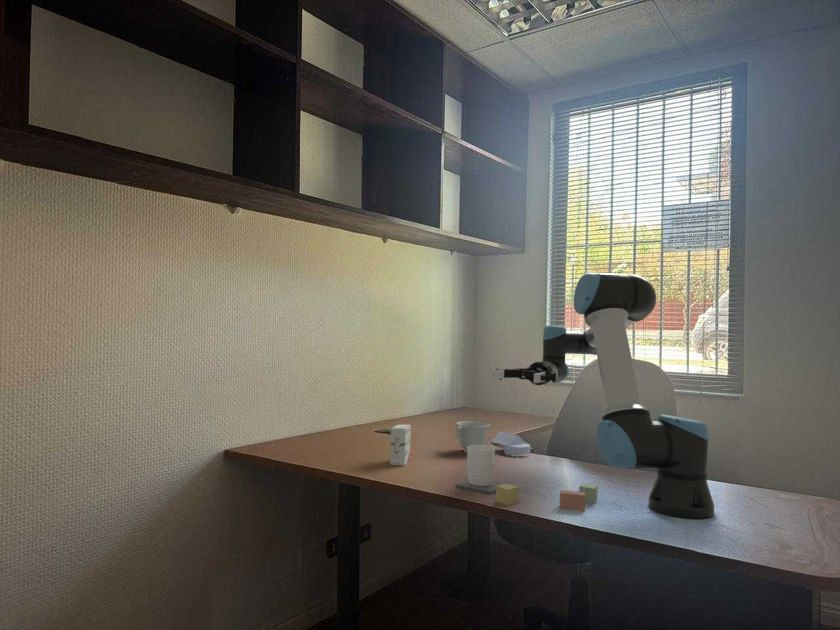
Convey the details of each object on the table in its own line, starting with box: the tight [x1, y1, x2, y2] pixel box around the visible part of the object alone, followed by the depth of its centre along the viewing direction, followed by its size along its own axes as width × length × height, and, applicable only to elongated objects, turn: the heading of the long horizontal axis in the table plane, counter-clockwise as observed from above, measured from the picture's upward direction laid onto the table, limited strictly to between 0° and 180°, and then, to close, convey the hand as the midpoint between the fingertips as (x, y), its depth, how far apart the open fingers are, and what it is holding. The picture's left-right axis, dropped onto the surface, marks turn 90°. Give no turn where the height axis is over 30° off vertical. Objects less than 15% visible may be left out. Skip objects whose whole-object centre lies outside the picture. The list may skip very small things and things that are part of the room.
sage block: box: [578, 482, 599, 505], centre depth 155 cm, size 4×4×4 cm
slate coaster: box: [455, 479, 510, 495], centre depth 166 cm, size 11×11×1 cm
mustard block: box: [495, 483, 520, 506], centre depth 152 cm, size 4×4×4 cm
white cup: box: [466, 444, 496, 486], centre depth 166 cm, size 8×8×10 cm
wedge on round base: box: [491, 430, 531, 456], centre depth 211 cm, size 9×7×13 cm
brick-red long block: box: [559, 489, 586, 512], centre depth 148 cm, size 6×3×4 cm, turn 75°
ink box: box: [389, 424, 412, 467], centre depth 191 cm, size 9×5×12 cm, turn 168°
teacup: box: [454, 420, 491, 454], centre depth 210 cm, size 12×15×10 cm
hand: (513, 376), depth 176 cm, fingers open, 13 cm apart
